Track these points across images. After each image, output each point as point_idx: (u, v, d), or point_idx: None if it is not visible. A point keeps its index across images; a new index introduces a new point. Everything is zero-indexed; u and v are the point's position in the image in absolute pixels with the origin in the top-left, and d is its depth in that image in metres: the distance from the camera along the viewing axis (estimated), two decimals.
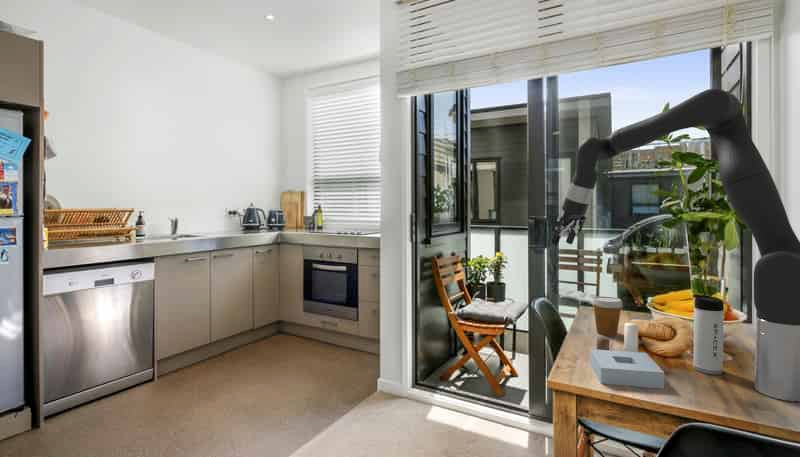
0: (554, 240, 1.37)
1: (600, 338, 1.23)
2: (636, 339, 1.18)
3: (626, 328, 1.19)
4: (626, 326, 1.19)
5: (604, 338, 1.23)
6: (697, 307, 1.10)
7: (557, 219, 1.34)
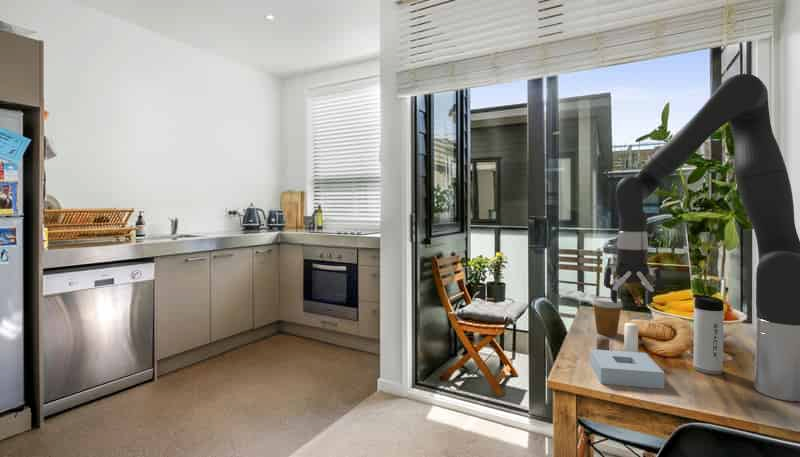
0: (611, 296, 1.20)
1: (600, 338, 1.23)
2: (635, 339, 1.18)
3: (626, 328, 1.19)
4: (626, 326, 1.19)
5: (604, 338, 1.23)
6: (697, 307, 1.10)
7: (605, 271, 1.21)
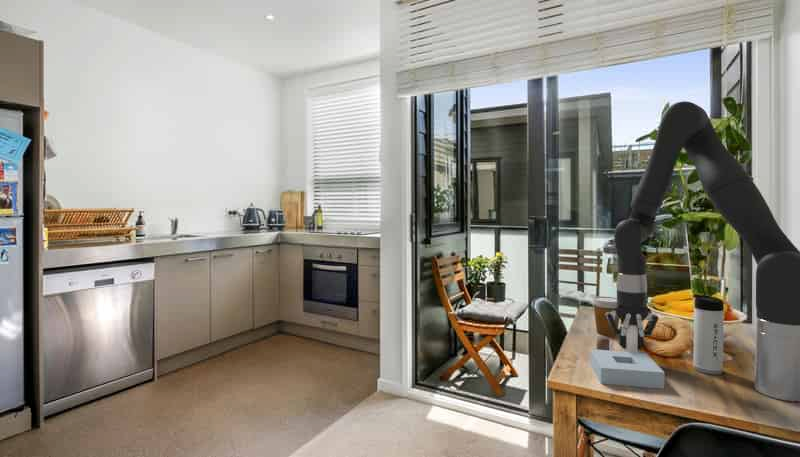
0: (619, 341, 1.20)
1: (600, 338, 1.23)
2: (635, 339, 1.18)
3: None
4: None
5: (604, 338, 1.23)
6: (697, 307, 1.10)
7: (607, 317, 1.21)
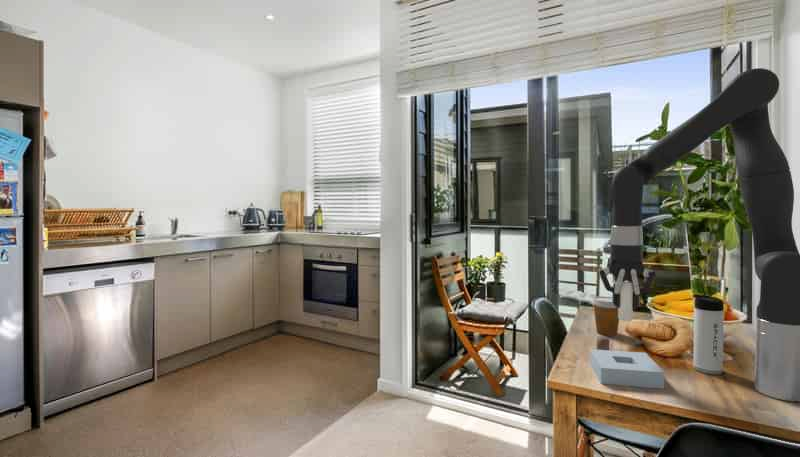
0: (613, 300, 1.11)
1: (600, 338, 1.23)
2: (630, 297, 1.08)
3: None
4: None
5: (604, 338, 1.23)
6: (697, 307, 1.10)
7: (599, 274, 1.12)
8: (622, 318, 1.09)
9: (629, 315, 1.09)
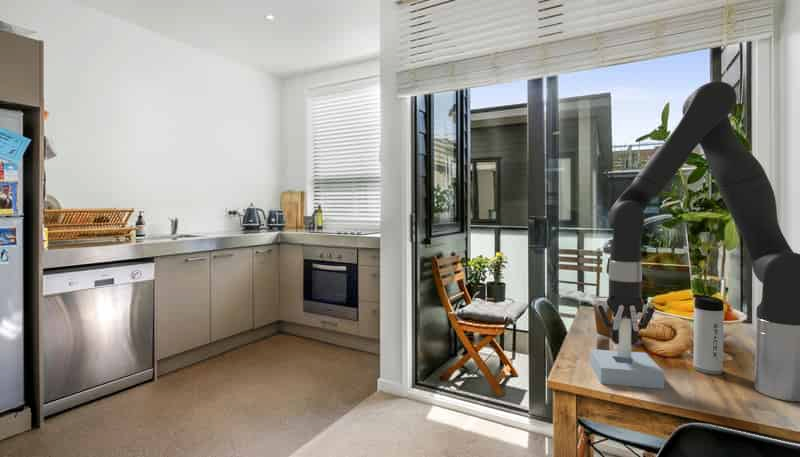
0: (611, 336, 1.09)
1: (600, 338, 1.23)
2: (629, 333, 1.06)
3: None
4: None
5: (604, 338, 1.23)
6: (697, 307, 1.10)
7: (598, 309, 1.10)
8: (621, 355, 1.07)
9: (627, 351, 1.06)
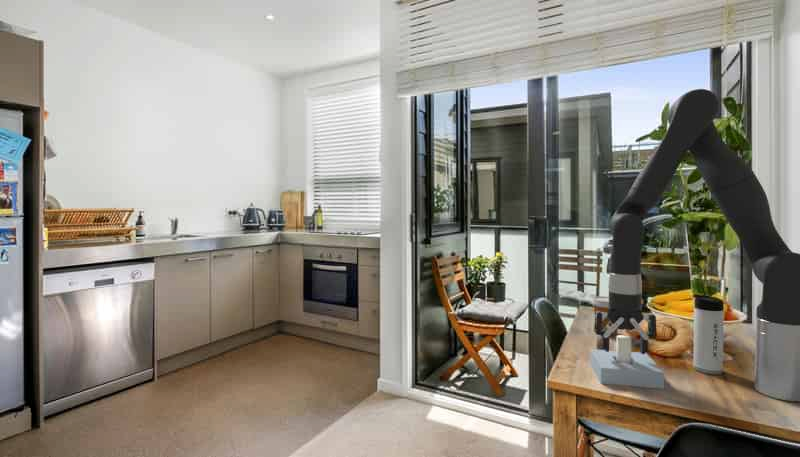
0: (602, 344, 1.09)
1: (600, 338, 1.23)
2: (629, 353, 1.07)
3: (618, 341, 1.08)
4: (618, 339, 1.08)
5: None
6: (697, 307, 1.10)
7: (595, 315, 1.10)
8: None
9: None
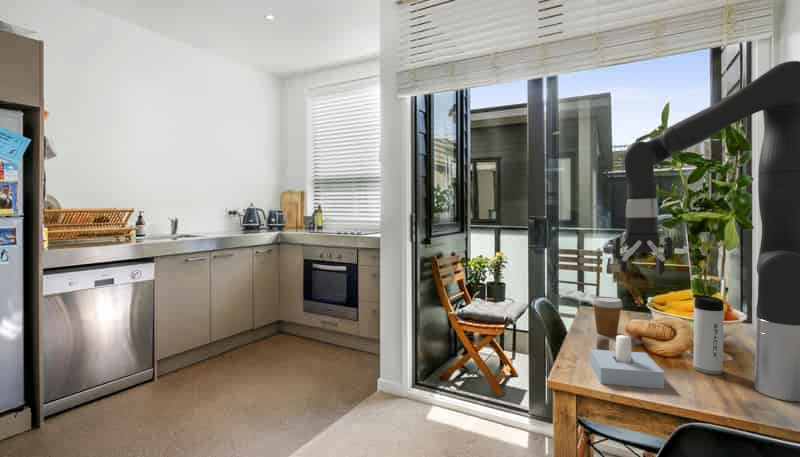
0: (621, 268, 1.15)
1: (600, 338, 1.23)
2: (628, 353, 1.07)
3: (618, 341, 1.08)
4: (618, 339, 1.08)
5: (604, 338, 1.23)
6: (697, 307, 1.10)
7: (614, 241, 1.16)
8: None
9: None
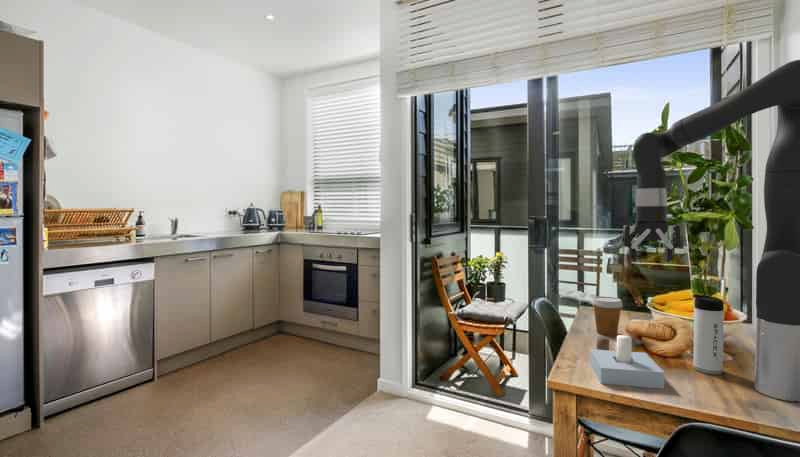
0: (630, 255, 1.19)
1: (600, 338, 1.23)
2: (629, 353, 1.07)
3: (618, 341, 1.08)
4: (618, 339, 1.08)
5: (604, 338, 1.23)
6: (697, 307, 1.10)
7: (623, 229, 1.20)
8: None
9: None
